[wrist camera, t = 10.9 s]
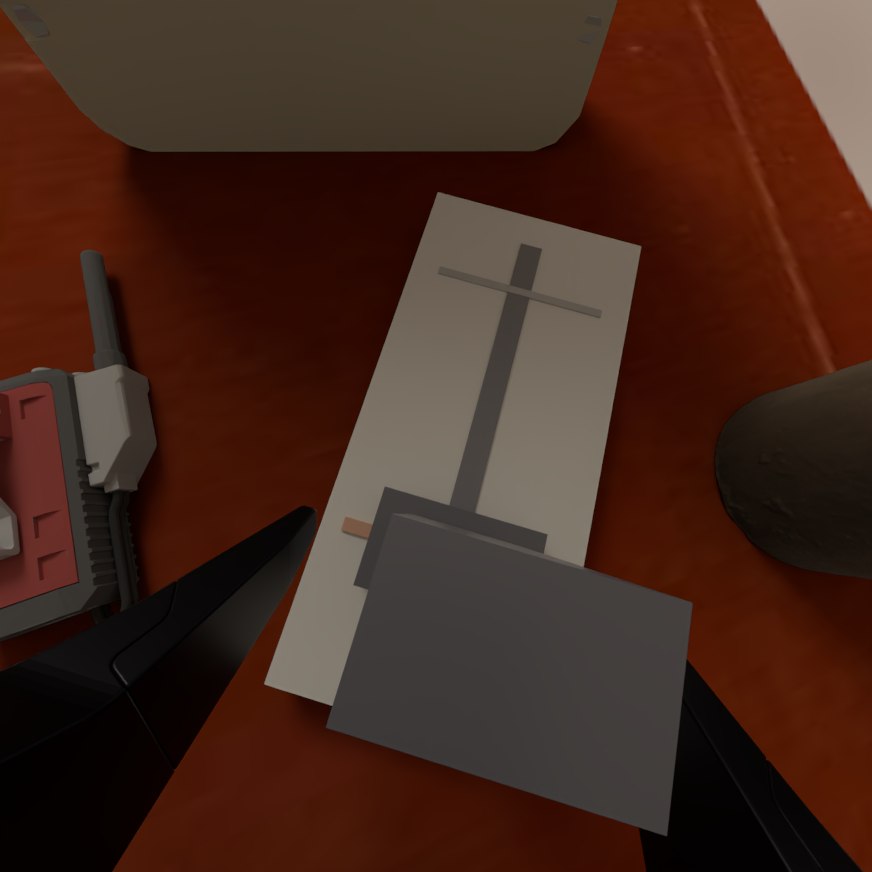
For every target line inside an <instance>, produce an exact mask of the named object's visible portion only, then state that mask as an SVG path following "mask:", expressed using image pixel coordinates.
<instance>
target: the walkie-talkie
mask: <svg viewBox="0 0 872 872" xmlns="http://www.w3.org/2000/svg"><path fill="white" fill-rule="evenodd" d="M80 258H81V265H82V271H83V277H84V283H85V289H86V295H87V301H88V307H89V313H90V319H91V325H92V332H93V338H94V344H95V350H96V353H94V355H93V360H94V366H95V371H93V372H89V373H84V372H75V373H72V374H70V373H68V372H65V371H63V370H60V369H49V368H35V369H33V370H32V372H30V373H26V374H23V375H19V376H16V377H12V378H9V379H5V380H2V381H0V642H1V641H4V640H8V639H11V638H14V637H17V636H20V635H23V634H25V633H28V632H31V631H34V630H37V629H39V628H42V627H45V626H48V625H51V624H53V623H56V622H59V621H62V620H65V619H67V618H70V617H73V616H76V615H78V614H81V613H84V612H87V611H90V610H91V613H92V618H93V620H94V622H95V624H98V623H100V622H102V621H104V620H106V619H107V618H109V617H111V616H113V613H112V611H111V608H110V603H112V602H115V601H118V600H120V599H121V609H120V612H121V611H123V610H125V609H127V608H129V607H130V606H132V605H134V604H136V603H138V601H139V594H138V588H137V582H138V580H139V579H140V577H138V576H137V569H138V566H136V564H135V559H136V555H134V553H133V548H134V547H135V546H134V544H132V541H131V537H133V534H132V533H130V529H129V527H130V526H131V523H128V516H129V512H127V511H126V509H127V506H128V504H129V493H130V492H133V491H136V490H138V488H137V484H138V482H139V480H140V478H141V476H142V474H143V473H144V471H145V469H146V467H147V465H148V463H149V461H150V459H151V457H152V455H153V453H154V451H155V449H156V446H157V441H156V436H155V431H154V425H153V420H152V415H151V410H150V404H149V399H148V392H149V390H150V388H149V383H148V378H147V377H146V376H144V375H141V374H139V373H137V372H135V371H133V370H131V369H129V368H128V363H127V358H126V356H125V354H123V353H122V350H121V344H120V338H119V333H118V327H117V321H116V316H115V310H114V304H113V299H112V296H111V294H110V292H109V287H108V282H107V277H106V272H105V266H104V261H103V256H102V255H101V254H100V253H98V252H96V251H93V250H85V251H83V252H82V253H81V255H80Z"/></svg>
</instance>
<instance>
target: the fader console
mask: <svg viewBox="0 0 872 872" xmlns="http://www.w3.org/2000/svg"><path fill="white" fill-rule="evenodd" d="M640 251H641V246H639V245H635V244H631V243H627V242H624V241H620V240H616V239H612V238H609V237H605V236H601V235H597V234H594V233H590V232H586V231H582V230H579V229H575V228H571V227H567V226H564V225H560V224H556V223H552V222H549V221H545V220H541V219H537V218H533V217H530V216H526V215H522V214H518V213H515V212H511V211H507V210H503V209H500V208H496V207H492V206H488V205H485V204H481V203H477V202H473V201H470V200H466V199H462V198H458V197H455V196H451V195H447V194H443V193H440V192H438V193H437V196H436V199H435V202H434V205H433V207H432V210H431V213H430V216H429V219H428V222H427V224H426V227H425V230H424V233H423V236H422V239H421V241H420V244H419V247H418V250H417V253H416V256H415V258H414V261H413V264H412V267H411V270H410V273H409V275H408V278H407V281H406V284H405V287H404V290H403V292H402V295H401V298H400V301H399V304H398V306H397V309H396V312H395V315H394V318H393V321H392V323H391V326H390V329H389V332H388V335H387V338H386V340H385V343H384V346H383V349H382V352H381V355H380V357H379V360H378V363H377V366H376V369H375V372H374V374H373V377H372V380H371V383H370V386H369V389H368V391H367V394H366V397H365V400H364V403H363V406H362V408H361V411H360V414H359V417H358V420H357V423H356V425H355V428H354V431H353V434H352V437H351V440H350V442H349V445H348V448H347V451H346V454H345V456H344V459H343V462H342V465H341V468H340V471H339V473H338V476H337V479H336V482H335V485H334V488H333V490H332V493H331V496H330V499H329V502H328V505H327V507H326V510H325V513H324V516H323V519H322V522H321V524H320V527H319V530H318V533H317V536H316V539H315V541H314V544H313V547H312V550H311V553H310V556H309V558H308V561H307V564H306V567H305V570H304V573H303V575H302V578H301V581H300V584H299V587H298V590H297V592H296V595H295V598H294V601H293V604H292V606H291V609H290V612H289V615H288V618H287V621H286V623H285V626H284V629H283V632H282V635H281V638H280V640H279V643H278V646H277V649H276V652H275V655H274V657H273V660H272V663H271V666H270V669H269V672H268V674H267V677H266V680H265V683H264V684H265V685H268V686H271V687H274V688H277V689H280V690H284V691H287V692H290V693H293V694H296V695H299V696H303V697H306V698H309V699H312V700H315V701H318V702H321V703H325V704H328V705H331V706H333V702H334V699H335V696H336V693H337V690H338V686H339V683H340V680H341V677H342V673H343V670H344V667H345V664H346V660H347V657H348V654H349V651H350V648H351V644H352V641H353V638H354V635H355V631H356V628H357V625H358V622H359V618H360V615H361V612H362V609H363V606H364V602H365V599H366V596H367V593H368V590H367V589H364V588H361V587H358V586H354V585H353V584H354V581H355V578H356V575H357V572H358V569H359V566H360V562H361V559H362V556H363V553H364V550H365V547H366V544H367V541H368V537H369V534H370V531H371V528H372V525H373V522H374V519H375V516H376V512H377V509H378V506H379V503H380V500H381V497H382V494H383V491H384V487H389V488H392V489H395V490H399V491H402V492H406V493H409V494H412V495H416V496H419V497H423V498H426V499H429V500H433V501H436V502H440V503H443V504H446V505H450V506H453V507H456V508H460V509H463V510H467V511H470V512H473V513H477V514H480V515H484V516H487V517H490V518H494V519H497V520H501V521H504V522H507V523H511V524H514V525H518V526H521V527H524V528H528V529H531V530H535V531H538V532H541V533H545V534H548V536H547V540H546V545H545V550H544V554H546V555H549V556H552V557H555V558H558V559H561V560H564V561H567V562H570V563H573V564H576V565H579V566H582V567H584V562H585V556H586V551H587V545H588V540H589V534H590V529H591V523H592V517H593V512H594V506H595V501H596V495H597V490H598V484H599V479H600V473H601V468H602V462H603V456H604V451H605V445H606V440H607V434H608V429H609V423H610V418H611V412H612V407H613V401H614V395H615V390H616V384H617V379H618V373H619V368H620V362H621V357H622V351H623V345H624V340H625V334H626V329H627V323H628V318H629V312H630V307H631V301H632V296H633V290H634V284H635V279H636V273H637V268H638V262H639V257H640Z"/></svg>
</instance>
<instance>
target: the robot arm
mask: <svg viewBox="0 0 872 872" xmlns="http://www.w3.org/2000/svg"><path fill="white" fill-rule="evenodd" d="M316 523H317V511H316V509H314V508H311V507H307V506H301V507H299V508H297V509H295V510H294V511H292V512H290V513H289V514H287V515H285V516H284V517H282V518H280V519H279V520H277V521H275V522H274V523H272V524H270V525H269V526H267V527H265V528H263V529H262V530H260V531H258V532H257V533H255V534H253V535H252V536H250V537H248V538H247V539H245V540H243V541H242V542H240V543H238V544H236V545H235V546H233V547H231V548H230V549H228V550H226V551H225V552H223V553H221V554H220V555H218V556H216V557H215V558H213V559H211V560H210V561H208V562H206V563H204V564H203V565H201V566H199V567H198V568H196V569H194V570H193V571H191V572H189V573H188V574H186V575H184V576H183V577H181V578H179V579H178V580H177V582H176V581H174V582H172V583H171V584H169V585H167V586H165V587H164V588H162V589H160V590H159V591H157V592H155V593H153V594H152V595H150V596H148V597H146V598H145V599H143V600H141V601H139V602H138V603H136V604H134V605H132V606H130V607H129V608H127V609H125V610H123V611H121V612H119V613H117V614H115V615H113V616H111V617H109V618H107V619H106V620H104V621H102V622H100V623H98V624H96V625H94V626H92V627H90V628H88V629H86V630H84V631H82V632H80V633H78V634H76V635H74V636H72V637H70V638H68V639H66V640H64V641H62V642H60V643H58V644H56V645H54V646H52V647H50V648H48V649H46V650H44V651H42V652H40V653H38V654H36V655H34V656H32V657H30V658H28V659H26V660H24V661H21V662H19V663H17V664H15V665H13V666H10V667H8V668H6V669H3V670H1V671H0V872H112V871H113V869H114V868H115V866H116V865H117V863H118V861H119V860H120V858H121V857H122V855H123V853H124V852H125V850H126V848H127V847H128V845H129V844H130V842H131V840H132V839H133V837H134V836H135V834H136V832H137V831H138V829H139V828H140V826H141V824H142V823H143V821H144V820H145V818H146V816H147V815H148V813H149V812H150V810H151V808H152V807H153V805H154V804H155V802H156V800H157V799H158V797H159V796H160V794H161V792H162V791H163V789H164V787H165V786H166V784H167V783H168V781H169V779H170V778H171V776H172V775H173V773H174V769H176V768H177V766H178V765H179V763H180V762H181V760H182V758H183V757H184V755H185V753H186V752H187V750H188V749H189V747H190V745H191V744H192V742H193V741H194V739H195V737H196V736H197V734H198V733H199V731H200V729H201V728H202V726H203V725H204V723H205V721H206V720H207V718H208V717H209V715H210V713H211V712H212V710H213V709H214V707H215V705H216V704H217V702H218V701H219V699H220V697H221V696H222V694H223V693H224V691H225V689H226V688H227V686H228V685H229V683H230V681H231V680H232V678H233V677H234V675H235V673H236V672H237V670H238V668H239V667H240V665H241V664H242V662H243V660H244V659H245V657H246V656H247V654H248V652H249V651H250V649H251V648H252V646H253V644H254V643H255V641H256V640H257V638H258V636H259V635H260V633H261V632H262V630H263V628H264V627H265V625H266V624H267V622H268V620H269V619H270V617H271V616H272V614H273V612H274V611H275V609H276V608H277V606H278V604H279V603H280V601H281V600H282V598H283V596H284V595H285V593H286V591H287V590H288V588H289V586H290V584H291V583H292V581H293V579H294V577H295V574H296V572H297V570H298V568H299V566H300V564H301V562H302V560H303V558H304V556H305V554H306V552H307V550H308V548H309V545H310V543H311V541H312V539H313V537H314V535H315V532H316ZM639 831H640V837H641V843H642V849H643V855H644V861H645V866H646V872H863V871H862V870H861V869H860V868H859V867H858V865H857V864H856V863H855V862H854V861H853V860H852V859H851V857H850V856H849V855H848V854H847V853H846V852H845V851H844V850H843V848H842V847H841V846H840V845H839V844H838V843H837V841H836V840H835V839H834V838H833V837H832V836H831V835H830V833H829V832H828V831H827V830H826V829H825V828H824V826H823V825H822V824H821V823H820V822H819V821H818V819H817V818H816V817H815V816H814V815H813V814H812V813H811V811H810V810H809V809H808V808H807V806H806V805H805V804H804V803H803V802H802V800H801V799H800V798H799V797H798V796H797V794H796V793H795V792H794V791H793V790H792V788H791V787H790V786H789V785H788V784H787V782H786V781H785V780H784V779H783V777H782V776H781V775H780V774H779V772H778V771H777V770H776V769H775V768H774V766H773V765H772V764H771V763H770V761H768V760H766V757H765V755H764V754H763V753H762V752H761V750H760V749H759V748H758V747H757V745H756V744H755V743H754V742H753V740H752V739H751V738H750V737H749V735H748V734H747V733H746V732H745V731H744V729H743V728H742V727H741V726H740V724H739V723H738V722H737V721H736V719H735V718H734V717H733V716H732V714H731V713H730V712H729V711H728V710H727V708H726V707H725V706H724V705H723V703H722V702H721V701H720V700H719V698H718V697H717V696H716V695H715V693H714V692H713V691H712V690H711V689H710V687H709V686H708V685H707V684H706V682H705V681H704V680H703V679H702V677H701V676H700V675H699V674H698V672H697V671H696V670H695V669H694V667H693V666H692V665H691V664H690V663H689V661H688V660H687V659H686V668H685V677H684V686H683V695H682V704H681V713H680V722H679V731H678V740H677V750H676V759H675V768H674V777H673V786H672V795H671V804H670V813H669V822H668V831H667V836H664V835H661V834H658V833H655V832H652V831H649V830H646V829H642V828H639Z"/></svg>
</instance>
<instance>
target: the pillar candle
mask: <svg viewBox="0 0 872 872" xmlns="http://www.w3.org/2000/svg"><path fill="white" fill-rule="evenodd" d="M716 453H717V455H715V457H716V458H715V467H716V478H717V480H718V483H719V487H720V489H721V496H722V499H723V502H724V503H725V507H726V508H727V512H728V513H729V514H730V516H731V517H732V518H733V520H734V521H735V522H736V524H737V525H738V526H739V528H740V529H742V530H743V532H744V533H745V534H746V535H747V536H748V538H749V539H750V540H751V541H752V542H753V543H754V544H756V545H757V546H758V547H760V548H761V549H762V550H763V551H765V552H766V553H768V554H769V555H771V556H772V557H774V558H776V559H778V560H780V561H782V562H784V563H786V564H789V565H792V566H795V567H798V568H801V569H805V570H810V571H816V572H823V573H830V574H837V575H844V576H852V577H859V578H866V579H871V580H872V360H869V361H866V362H863V363H860V364H857V365H854V366H851V367H847V368H844V369H842V370H839V371H836V372H833V373H830V374H827V375H824V376H821V377H818V378H815V379H812V380H809V381H806V382H803V383H799V384H795V385H792V386H789V387H786V388H783V389H779V390H776V391H772V392H769V393H767V394H764V395H762V396H760V397H757V398H755V399H754V400H752V401H750V402H749V403H748V404H746V405H745V406H743V407H742V408H741V409H739V410H738V411H737V412H736V413H735V414H734V415H733V416H732V417H731V418H730V419H729V420H728V421H727V423H726V424H725V426H724V428H723V431H722V432H721V433H720V436H719V440H718V444H717V447H716Z"/></svg>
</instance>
